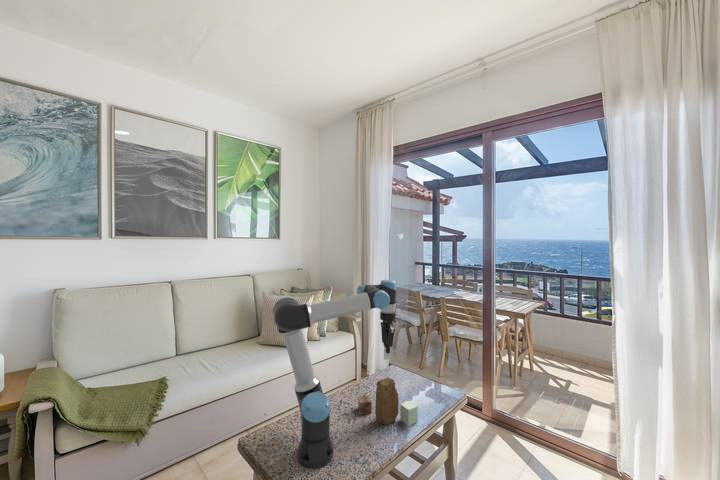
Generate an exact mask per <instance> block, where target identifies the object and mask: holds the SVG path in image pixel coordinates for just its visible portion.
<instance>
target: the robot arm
mask: <svg viewBox="0 0 720 480" xmlns="http://www.w3.org/2000/svg"><path fill="white" fill-rule="evenodd" d="M356 288H357V289H356V294H352V295H348V296H343V297H340V298H336V299H332V300H328V301H327V300H326V301H323V302H318V303H314V304H308V303H303V304H300V303H299V302H298V301H297V300H296V299H295V298H293V297H290V296H289V297H288V296H285V297H281V298H280V299H278V300H277V301H276V302H275V304H274V306H273V309H272V312H273V321H274V323H275V326H276V327H277V331H278V333H279V334H280V335H282V337H283V339H284V344H285V347H286V350H287V353H288V357H289V361H290V364H291V368H292V372H293V375H294V378H295V385H294V392H295V393H294V394H295V396H296V399H297V404H298V409H299V413H300V418H301V419H300V420H301V422H300V423H301V437H300V441H299V444H298V447H297V451H296V460H297V461H298V463H299V464H300V465H301V466H302V467H304V468H308V469H309V468H310V469H318V468H321V467H324V466H326V465H328V463H330V462H331V461H332V459H333V458H334V453H335V452H334V450H335V449H334V444H333V441H332V437H331V435H330V427H331V426H330V420H331V419H330V416H331V415H330V413H331V404H330V399H329V397H328V396H327V395H326V394H325V393H324V392H323V389H322V384H321V381H320V378H319V377H318V376H316V375H315V372H314V368H313V366H312V361H311V357H310V353H309V351H308V350H309V349H308V346H307V342H306V339H305V335H304V331H303V329H308V328H310V327H312V326H313V325H314V324H316V323H317V324H318V323H320V322H326V321H328V320H333V319H337V318H340V317H344V316H349V315H353V314H356V313H360V312H364V311H368V310H373V309H379V311H380V312H379V313H380V314H379V319H380V320H381V321H380V327H381V328H380V330H381V332H380V333H381V342H382V343H383V359H384V361H385V360H391V347H393V344H394V337H395V332H396V329H395V328H394V327H393V322H394V321H395V320H396V307H397V304H396V303H397V301H396V300H397V283H396V281H395V280H392V279H383V280H381V281H380V284H361V285H358V286H357V287H356Z"/></svg>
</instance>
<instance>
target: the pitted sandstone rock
mask: <svg viewBox="0 0 720 480" xmlns="http://www.w3.org/2000/svg"><path fill="white" fill-rule="evenodd" d="M375 389H376V390H375V406H374V407H375V409H374V411H375V418H376V420H377V421H378V422H379V424H382V425H391V424H392V423H393V422H395V421H396V419H397V417H398V415H399V410H400V409H399V407H400V406H399V405H400V404H399V403H400V402H399V401H400V400H399V399H400V398H399V392H398V390H397V388H396V381H395V380H394V379H393V378H391V377H386V378H381V379H378V381H377V382H376V388H375Z"/></svg>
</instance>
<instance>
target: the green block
mask: <svg viewBox="0 0 720 480" xmlns="http://www.w3.org/2000/svg"><path fill="white" fill-rule="evenodd" d="M399 405H400V406H399V407H400V409H399V411H400V415H399V416H400V417H399V418H400V419H399V420H400V421H401V422H402V423H404V425H406V426H407V427H410V426H412V424H413V425H415V424H417V423H418V422H419V420H418V418H419V417H418V416H419V413H418V411H419V410H418V409H419V406H418V405H417V404H415V403H414V402H413V401H411V400H407V401H405V402H402V403H400V404H399ZM414 423H415V424H414Z"/></svg>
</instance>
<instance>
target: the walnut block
mask: <svg viewBox="0 0 720 480" xmlns="http://www.w3.org/2000/svg"><path fill="white" fill-rule="evenodd" d="M372 403H373V402H372V399H371V395H362V396H361V395H360V396H359V395H358V403H357V404H358V412H359V415H363V414H365V415H366V414H372V409H373V408H372V406H373V405H372Z"/></svg>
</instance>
